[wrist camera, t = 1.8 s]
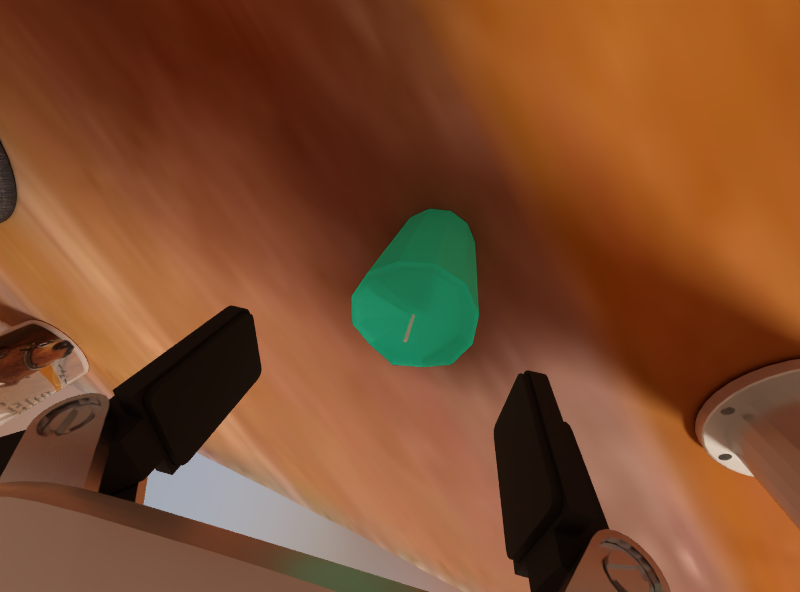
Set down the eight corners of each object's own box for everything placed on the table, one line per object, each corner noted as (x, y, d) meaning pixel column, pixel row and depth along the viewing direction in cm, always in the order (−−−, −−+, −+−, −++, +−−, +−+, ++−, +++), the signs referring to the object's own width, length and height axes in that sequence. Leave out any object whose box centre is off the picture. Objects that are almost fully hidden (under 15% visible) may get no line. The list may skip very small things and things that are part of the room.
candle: (390, 215, 22) (318, 282, 11) (471, 201, 20) (473, 265, 10) (405, 286, 24) (357, 393, 14) (478, 279, 23) (485, 395, 12)
